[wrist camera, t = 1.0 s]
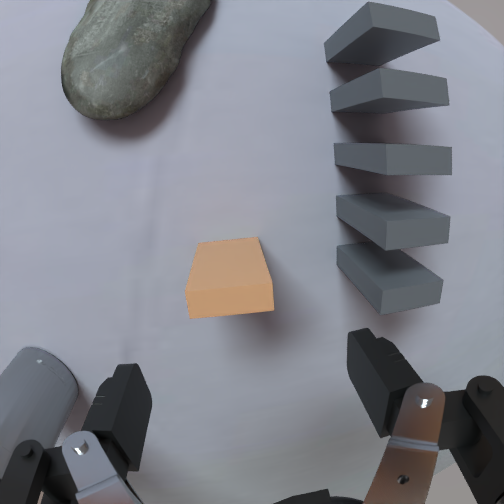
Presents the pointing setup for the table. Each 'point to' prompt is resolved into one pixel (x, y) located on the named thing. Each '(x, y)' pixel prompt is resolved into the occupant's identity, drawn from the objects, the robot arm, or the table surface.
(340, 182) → the table surface
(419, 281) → the domino
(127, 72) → the stone
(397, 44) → the domino
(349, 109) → the domino
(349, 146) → the domino
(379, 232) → the domino
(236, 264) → the domino
